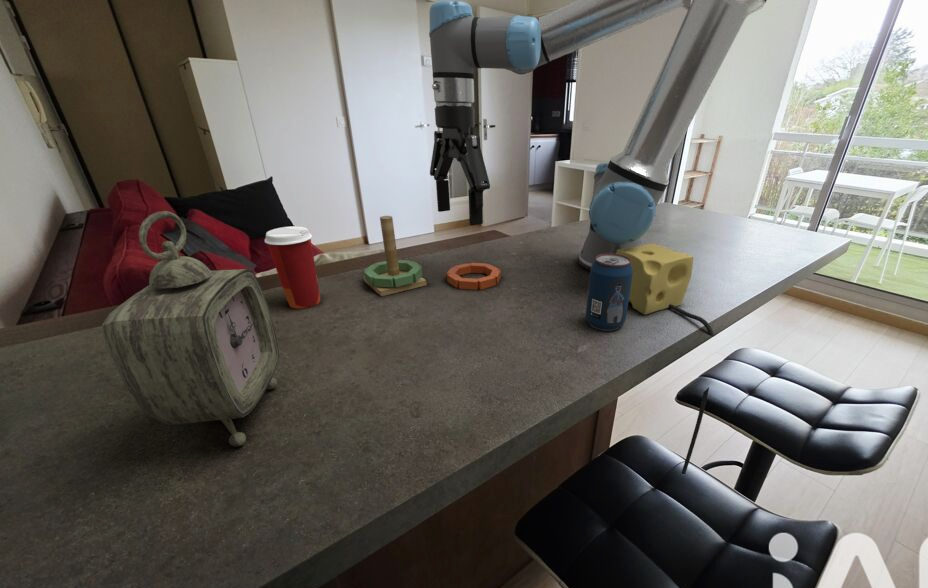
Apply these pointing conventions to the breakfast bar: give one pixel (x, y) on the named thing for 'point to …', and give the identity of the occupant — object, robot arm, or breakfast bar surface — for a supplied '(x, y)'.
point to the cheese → (657, 277)
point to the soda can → (609, 291)
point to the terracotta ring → (471, 283)
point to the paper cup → (295, 265)
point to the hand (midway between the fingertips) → (459, 217)
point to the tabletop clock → (194, 339)
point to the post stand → (392, 260)
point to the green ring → (396, 280)
